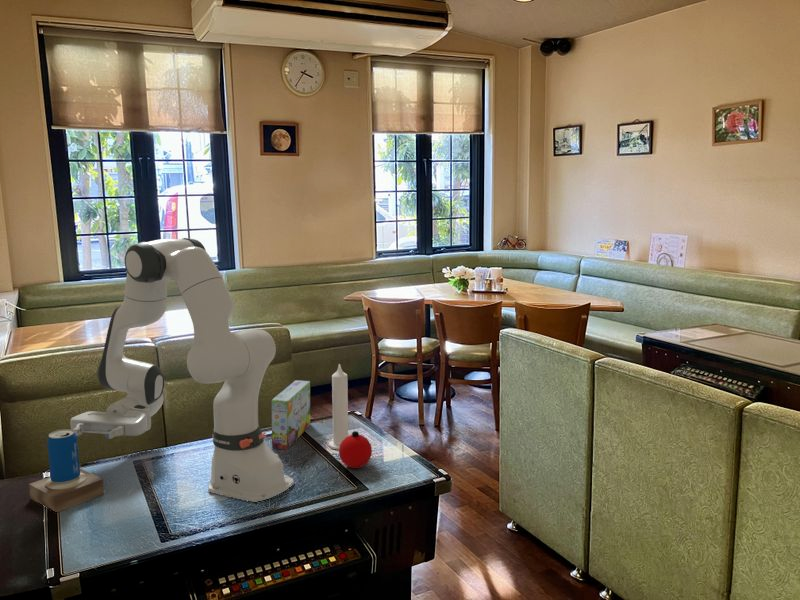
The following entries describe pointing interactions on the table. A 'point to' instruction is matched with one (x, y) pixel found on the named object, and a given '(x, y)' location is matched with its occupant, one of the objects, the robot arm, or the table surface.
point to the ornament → (355, 450)
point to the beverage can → (63, 456)
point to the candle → (339, 408)
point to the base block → (66, 491)
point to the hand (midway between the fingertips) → (91, 434)
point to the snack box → (290, 414)
